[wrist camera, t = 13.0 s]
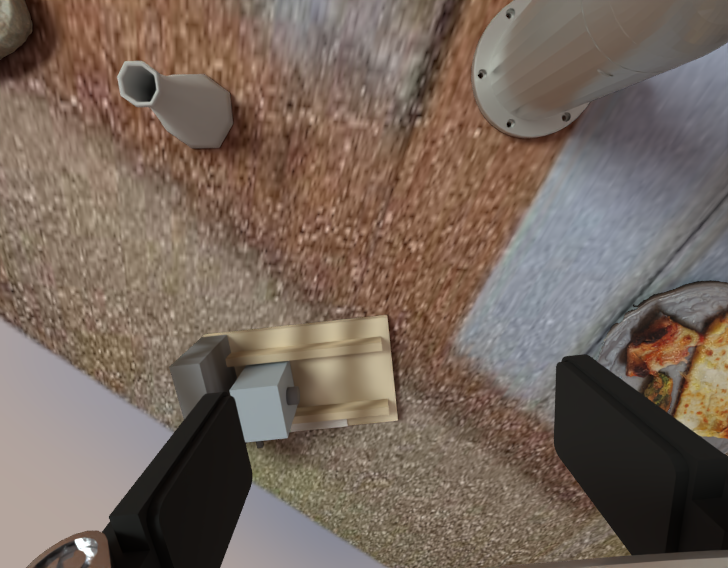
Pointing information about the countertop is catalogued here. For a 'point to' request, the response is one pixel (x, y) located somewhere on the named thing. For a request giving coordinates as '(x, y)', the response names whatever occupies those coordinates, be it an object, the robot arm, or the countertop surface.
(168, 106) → the flask
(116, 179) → the countertop surface
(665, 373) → the food plate
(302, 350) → the board
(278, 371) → the grey cube with peg
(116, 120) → the countertop surface
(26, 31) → the long grey stone
